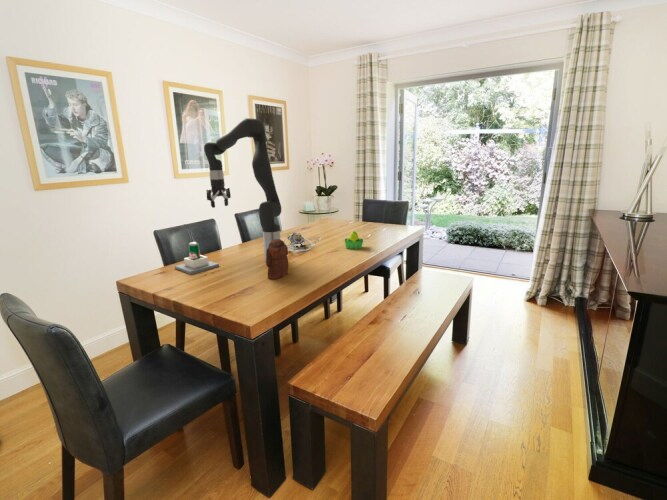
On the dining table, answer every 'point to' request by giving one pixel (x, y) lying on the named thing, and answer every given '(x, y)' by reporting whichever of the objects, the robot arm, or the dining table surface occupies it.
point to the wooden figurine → (277, 259)
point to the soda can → (194, 250)
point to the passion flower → (296, 238)
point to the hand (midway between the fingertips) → (220, 206)
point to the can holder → (196, 265)
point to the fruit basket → (353, 241)
